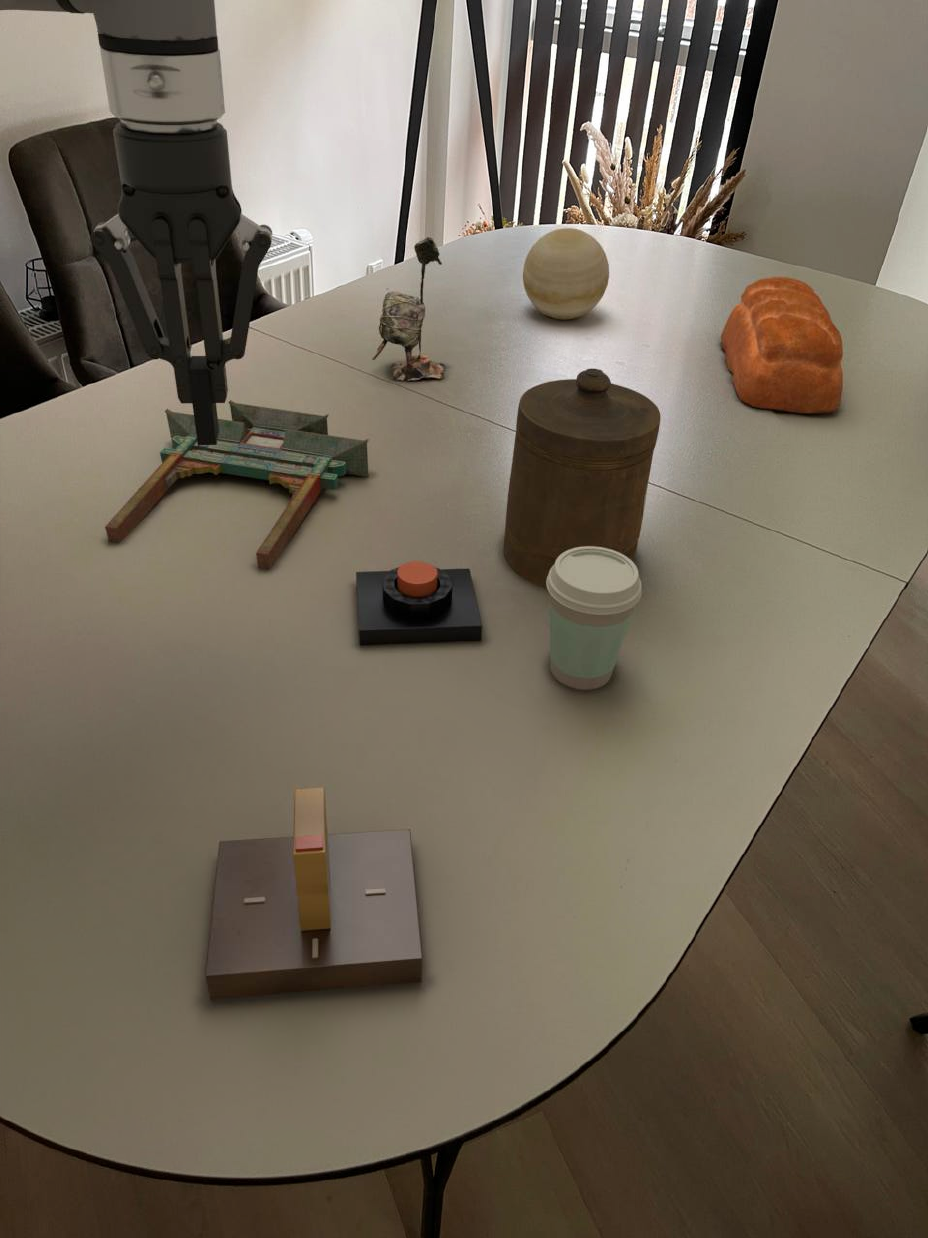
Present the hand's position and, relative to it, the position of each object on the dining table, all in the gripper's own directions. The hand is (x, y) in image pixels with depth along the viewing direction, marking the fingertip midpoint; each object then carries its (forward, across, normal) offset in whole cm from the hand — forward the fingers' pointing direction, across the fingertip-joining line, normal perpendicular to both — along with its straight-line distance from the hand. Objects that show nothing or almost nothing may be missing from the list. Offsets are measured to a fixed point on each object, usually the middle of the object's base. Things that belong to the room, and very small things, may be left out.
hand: (208, 437), depth 79 cm
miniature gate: (+22, -1, +30) cm, 37 cm away
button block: (+22, +18, +4) cm, 29 cm away
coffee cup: (+22, +33, -6) cm, 40 cm away
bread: (+22, +81, +65) cm, 106 cm away
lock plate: (+22, +8, -32) cm, 40 cm away
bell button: (+19, +18, +4) cm, 26 cm away
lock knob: (+19, +8, -32) cm, 38 cm away
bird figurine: (+22, +22, +66) cm, 73 cm away
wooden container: (+22, +36, +14) cm, 45 cm away
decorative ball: (+22, +51, +91) cm, 107 cm away
